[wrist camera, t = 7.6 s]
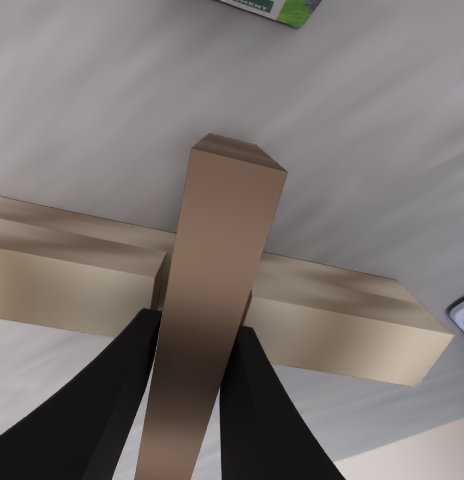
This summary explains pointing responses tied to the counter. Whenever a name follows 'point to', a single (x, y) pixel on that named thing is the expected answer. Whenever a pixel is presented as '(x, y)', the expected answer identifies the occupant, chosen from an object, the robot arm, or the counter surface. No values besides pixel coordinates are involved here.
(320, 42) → the counter surface
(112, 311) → the maple board
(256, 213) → the wooden bridge block
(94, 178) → the counter surface
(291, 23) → the syrup box
